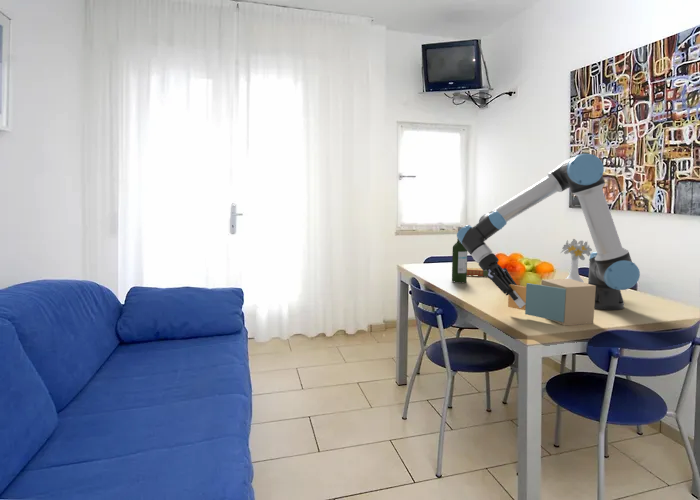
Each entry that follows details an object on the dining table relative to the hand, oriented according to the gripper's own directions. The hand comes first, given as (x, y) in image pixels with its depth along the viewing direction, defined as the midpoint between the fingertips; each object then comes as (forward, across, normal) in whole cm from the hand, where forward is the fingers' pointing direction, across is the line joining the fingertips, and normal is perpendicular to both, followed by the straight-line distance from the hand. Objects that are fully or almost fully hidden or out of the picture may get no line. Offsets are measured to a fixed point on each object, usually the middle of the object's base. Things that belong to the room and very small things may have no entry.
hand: (523, 305), depth 163 cm
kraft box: (+12, -9, +5) cm, 16 cm away
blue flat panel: (+5, 0, +1) cm, 5 cm away
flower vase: (+2, -64, -6) cm, 64 cm away
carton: (-36, -68, -45) cm, 89 cm away
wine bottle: (-35, -44, -43) cm, 70 cm away
